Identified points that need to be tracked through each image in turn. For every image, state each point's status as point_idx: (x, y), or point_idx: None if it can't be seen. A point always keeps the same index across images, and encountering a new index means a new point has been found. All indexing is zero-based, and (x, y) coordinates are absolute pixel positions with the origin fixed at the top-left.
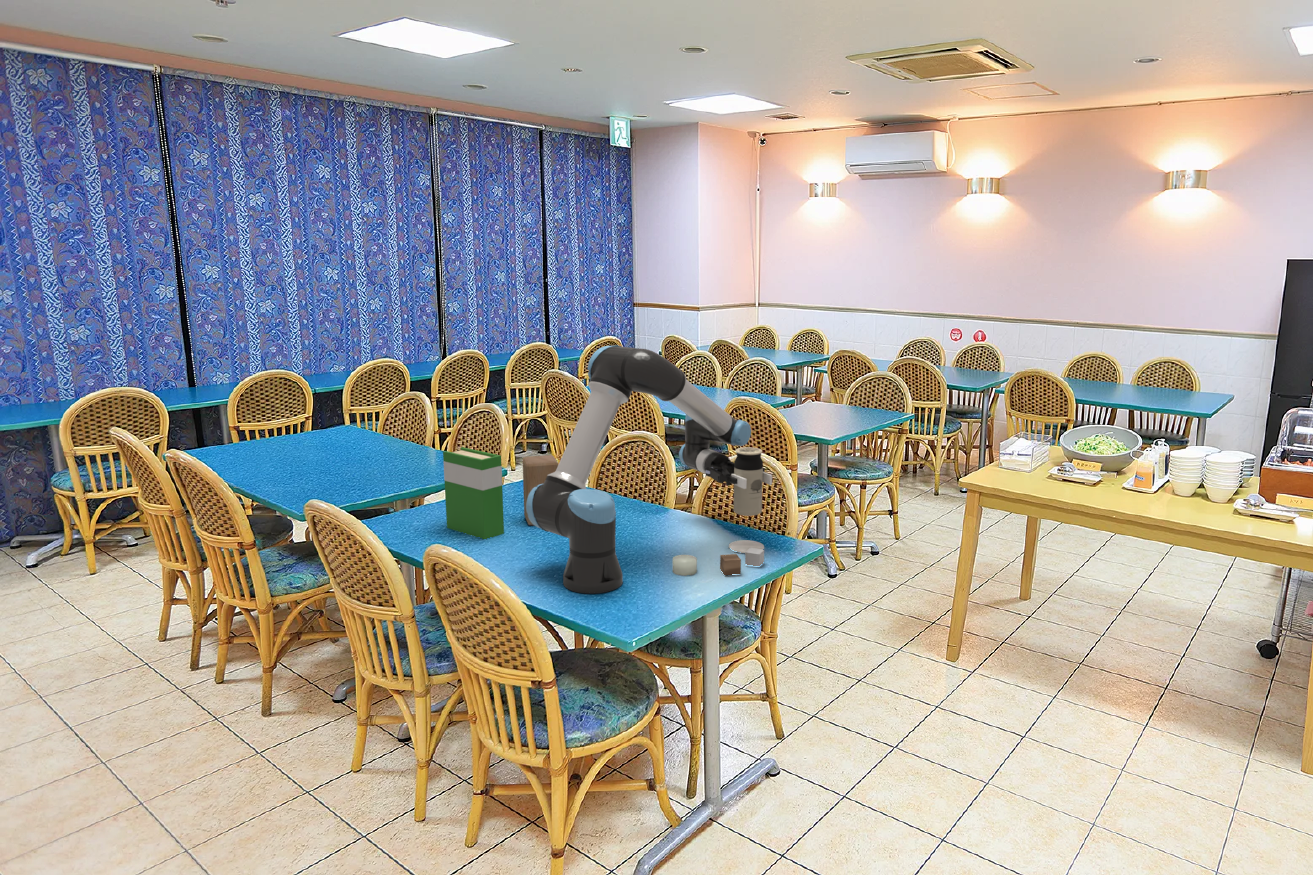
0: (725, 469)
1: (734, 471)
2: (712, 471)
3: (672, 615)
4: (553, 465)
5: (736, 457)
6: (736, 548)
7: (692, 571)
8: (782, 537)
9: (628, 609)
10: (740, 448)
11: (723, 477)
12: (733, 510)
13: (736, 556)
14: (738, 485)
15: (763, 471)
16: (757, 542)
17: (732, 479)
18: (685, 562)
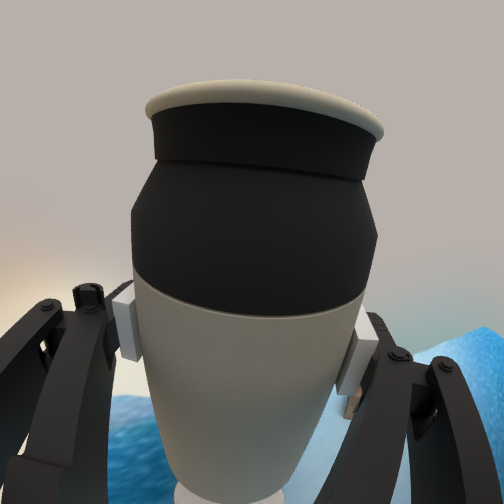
0: (354, 499)
1: (356, 318)
2: (491, 495)
3: (458, 342)
4: None
5: (358, 195)
6: (270, 500)
7: None
8: None
9: (497, 361)
10: (293, 91)
11: (425, 370)
12: (286, 482)
13: (360, 386)
14: None
15: (66, 314)
16: (178, 495)
17: (382, 325)
18: None
